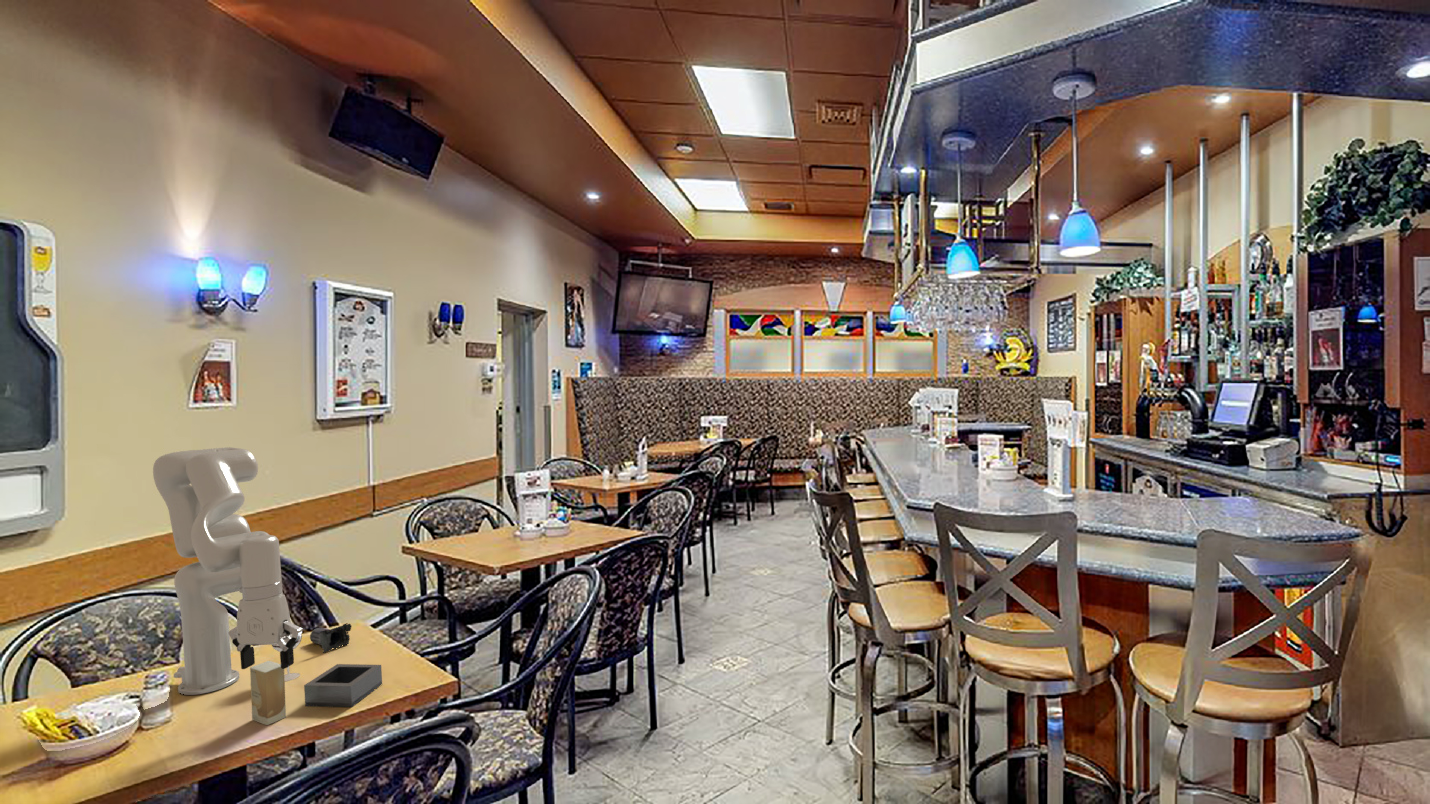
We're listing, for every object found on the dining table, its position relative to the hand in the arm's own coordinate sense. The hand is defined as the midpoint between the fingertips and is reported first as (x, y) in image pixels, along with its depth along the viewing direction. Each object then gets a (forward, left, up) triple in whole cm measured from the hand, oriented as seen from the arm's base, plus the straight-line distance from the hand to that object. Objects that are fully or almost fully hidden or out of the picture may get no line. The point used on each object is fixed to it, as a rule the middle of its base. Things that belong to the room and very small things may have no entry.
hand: (267, 666), depth 154 cm
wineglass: (-13, +21, -12) cm, 28 cm away
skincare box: (-1, 0, -12) cm, 12 cm away
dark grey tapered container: (-17, +42, -13) cm, 47 cm away
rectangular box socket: (+9, +12, -12) cm, 20 cm away
